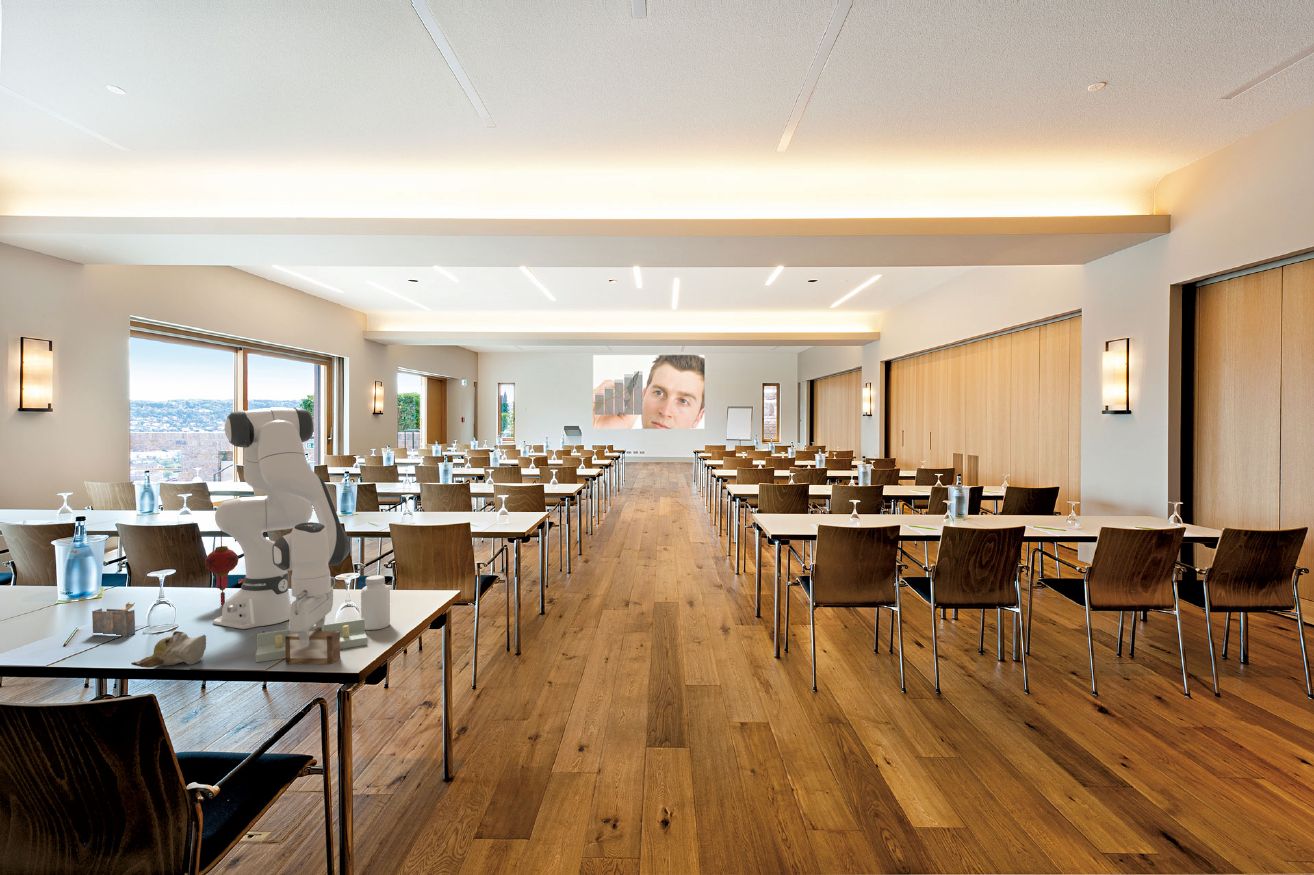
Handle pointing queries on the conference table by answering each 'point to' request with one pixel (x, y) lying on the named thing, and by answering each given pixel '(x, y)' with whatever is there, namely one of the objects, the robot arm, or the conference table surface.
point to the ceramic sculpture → (175, 651)
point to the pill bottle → (375, 603)
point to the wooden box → (313, 648)
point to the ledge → (274, 642)
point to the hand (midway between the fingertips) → (312, 639)
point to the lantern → (221, 566)
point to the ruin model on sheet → (114, 621)
